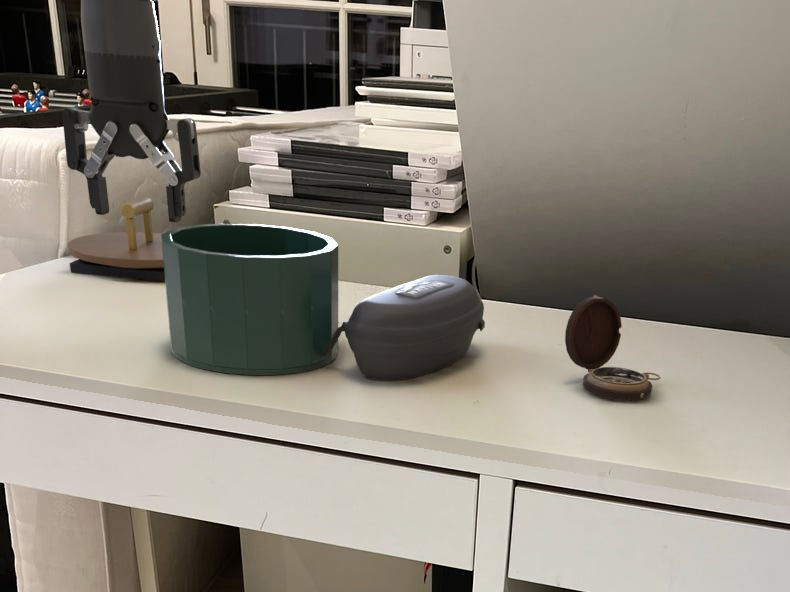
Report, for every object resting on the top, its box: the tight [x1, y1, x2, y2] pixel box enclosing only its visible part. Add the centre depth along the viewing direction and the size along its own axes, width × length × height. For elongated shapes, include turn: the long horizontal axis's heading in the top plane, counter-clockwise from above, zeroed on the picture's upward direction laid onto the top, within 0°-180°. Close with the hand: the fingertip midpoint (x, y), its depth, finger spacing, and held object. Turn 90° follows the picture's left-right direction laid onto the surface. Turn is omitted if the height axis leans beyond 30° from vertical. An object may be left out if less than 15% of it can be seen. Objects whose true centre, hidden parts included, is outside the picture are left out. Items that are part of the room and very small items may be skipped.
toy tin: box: [161, 223, 339, 376], centre depth 86 cm, size 15×15×10 cm
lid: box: [67, 196, 164, 269], centre depth 111 cm, size 16×16×6 cm
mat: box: [69, 258, 165, 283], centre depth 113 cm, size 12×12×1 cm
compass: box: [564, 295, 661, 401], centre depth 86 cm, size 8×8×7 cm
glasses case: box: [324, 274, 486, 381], centre depth 88 cm, size 18×10×8 cm, turn 154°
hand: (139, 217), depth 110 cm, fingers open, 8 cm apart
